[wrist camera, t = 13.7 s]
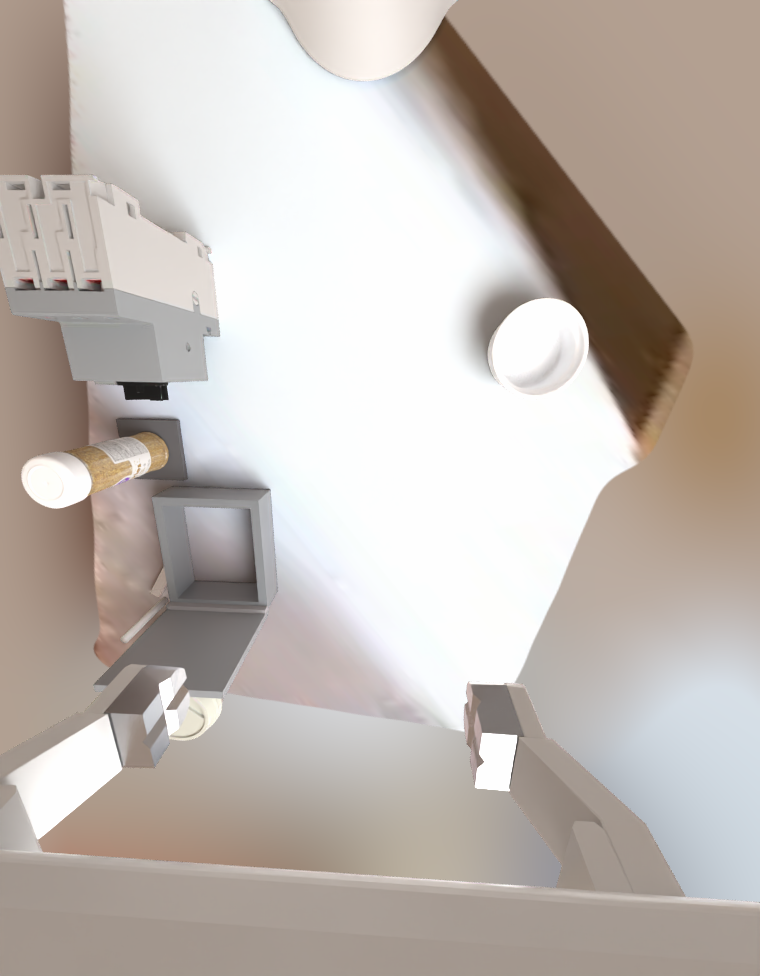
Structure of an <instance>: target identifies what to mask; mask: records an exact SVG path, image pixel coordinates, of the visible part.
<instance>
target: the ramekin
mask: <svg viewBox="0 0 760 976" xmlns="http://www.w3.org/2000/svg"><path fill="white" fill-rule="evenodd" d="M588 345H589V344H588V332H587V328H586V325H585V322H584V320H583V318H582V316H581V315H580V313H579V312H578V311H577V310H576V309H575V308H574V307H573V306H572V305H570V304H569V303H567V302H565V301H562V300H560V299H555V298H539V299H534V300H531V301H528V302H526V303H524V304H522V305H520V306H519V307H517V308H516V309H514V310H513V311H512V312H511V313H510V314H509V315H508V316H507V317H506V318H505V319H504V320H503V322H502V323H501V324H500V325H499V326H498V328H497V329H496V330H495V332H494V334H493V335H492V337H491V340H490V343H489V347H488V353H487V355H488V363H489V367H490V370H491V372H492V375H493V377H494V378H495V380H496V381H497V382H498V383H499V384H500V385H502V386H503V387H505V388H506V389H507V390H509V391H510V392H512V393H513V394H515V395H517V396H520V397H523V398H529V399H539V398H545V397H548V396H551V395H553V394H556V393H558V392H560V391H561V390H563V389H564V388H565V387H567V386H568V385H569V384H570V383H571V382H572V381H573V380H574V379H575V378H576V376H577V375H578V374H579V372H580V370H581V369H582V367H583V365H584V363H585V360H586V357H587V352H588Z"/></svg>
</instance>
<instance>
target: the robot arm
mask: <svg viewBox="0 0 760 976" xmlns="http://www.w3.org/2000/svg"><path fill="white" fill-rule="evenodd" d="M269 1H271V2H272V3H273V4H274V5H276V6H277V7H278V8H279V9H280V10H281V12H282V13H283V14H284V16H285V18H286V19H287V21H288V23H289V25H290V27H291V29H292V31H293V33H294V34H295V36H296V38H297V40H298V41H299V43H300V44H301V46H302V47H303V48H304V50H305V51H306V52H307V53H308V54H309V55H310V56H311V58H312V59H313V60H315V61H316V62H317V63H318V64H319V65H320V66H322V67H323V68H324V69H326V70H327V71H329V72H331V73H333V74H335V75H337V76H339V77H342V78H345V79H349V80H354V81H373V80H378V79H382V78H385V77H388V76H390V75H393V74H395V73H396V72H398V71H400V70H402V69H403V68H405V67H406V66H407V65H409V64H410V63H411V62H412V61H413V60H414V59H415V58H416V57H417V56H418V55H419V54H420V53H421V52H422V51H423V50H424V48H425V47H426V46H427V45H428V43H429V42H430V40H431V39H432V37H433V36H434V34H435V32H436V30H437V29H438V27H439V25H440V23H441V21H442V19H443V18H444V16H445V14H446V13H447V11H448V10H449V8H450V7H451V6H452V5H453V4H454V3H455V2H457V1H458V0H269ZM186 678H187V677H186V673H185V669H183V668H180V667H168V666H155V665H138V664H130V665H128V666H126V667H125V668H124V669H123V670H122V671H121V672H120V673H119V674H118V675H117V676H116V677H115V678H114V679H113V681H112V682H111V683H110V684H109V685H108V686H107V687H106V688H105V689H104V690H103V691H102V692H101V693H100V694H99V696H98V697H97V698H96V699H95V700H94V701H93V702H92V703H91V704H90V705H89V706H88V707H87V709H86V710H85V711H84V712H80V713H79V712H77V713H75V714H73V715H71V716H70V717H68V718H66V719H64V720H62V721H61V722H59V723H57V724H55V725H53V726H52V727H50V728H48V729H46V730H45V731H43V732H41V733H39V734H37V735H35V736H34V737H32V738H30V739H28V740H26V741H25V742H23V743H21V744H19V745H17V746H16V747H14V748H12V749H10V750H8V751H7V752H5V753H3V754H1V755H0V976H760V902H750V901H736V900H721V899H707V898H693V897H686V896H685V894H684V893H683V891H682V889H681V887H680V885H679V884H678V882H677V880H676V878H675V876H674V875H673V873H672V871H671V869H670V867H669V865H668V864H667V862H666V860H665V858H664V856H663V854H662V853H661V851H660V849H659V847H658V845H657V844H656V842H655V840H654V838H653V836H652V835H651V833H650V831H649V829H648V827H647V826H646V824H645V823H644V822H643V821H642V820H641V819H640V818H639V817H638V816H636V815H635V814H634V813H633V812H632V811H631V810H630V809H629V808H628V807H627V806H625V805H624V804H623V803H622V802H621V801H620V800H619V799H618V798H617V797H616V796H615V795H614V794H612V793H611V792H610V791H609V790H608V789H607V788H606V787H605V786H604V785H603V784H601V783H600V782H599V781H598V780H597V779H596V778H595V777H594V776H593V775H592V774H591V773H589V772H588V771H587V770H586V769H585V768H584V767H583V766H582V765H581V764H580V763H579V762H577V761H576V760H575V759H574V758H573V757H572V756H571V755H570V754H569V753H567V751H565V750H564V749H563V748H562V747H561V746H560V745H559V744H558V743H557V742H556V741H555V740H553V739H550V738H546V735H545V733H544V730H543V728H542V726H541V723H540V721H539V718H538V716H537V714H536V711H535V709H534V707H533V704H532V702H531V700H530V697H529V694H528V692H527V690H526V687H525V686H524V685H523V684H516V683H504V684H503V683H490V682H468V684H467V690H466V694H467V699H468V702H467V703H466V704H465V707H464V729H465V737H466V742H467V745H468V746H469V747H470V748H471V756H470V763H471V768H472V774H473V779H474V784H475V787H476V788H484V789H496V790H506V791H509V793H510V795H511V796H512V798H513V799H514V800H515V802H516V803H517V804H518V806H519V807H520V809H521V810H522V811H523V813H524V814H525V815H526V817H527V818H528V819H529V821H530V822H531V824H532V825H533V826H534V828H535V829H536V831H537V832H538V833H539V835H540V836H541V837H542V839H543V840H544V841H545V843H546V844H547V846H548V847H549V848H550V849H551V851H552V852H553V854H554V855H555V857H556V858H557V859H558V861H559V862H560V863H561V865H562V867H561V872H560V875H559V879H558V882H557V886H556V888H548V887H533V886H520V885H506V884H491V883H477V882H463V881H462V882H461V881H448V880H433V879H419V878H405V877H391V876H376V875H362V874H345V873H332V872H318V871H304V870H290V869H274V868H260V867H245V866H232V865H217V864H203V863H188V862H174V861H160V860H145V859H130V858H117V857H103V856H88V855H73V854H60V853H44V852H42V849H41V847H40V844H39V842H38V839H39V838H41V837H42V836H43V835H44V834H45V833H47V832H48V831H49V830H50V829H51V828H53V826H55V825H56V824H57V823H59V822H60V821H61V820H62V819H63V818H65V817H66V816H67V815H68V814H69V813H70V812H72V811H73V810H74V809H75V808H77V807H78V806H79V805H80V804H81V803H82V802H84V801H85V800H86V799H87V798H89V796H91V795H92V794H93V793H95V792H96V791H97V790H98V789H99V788H101V787H102V786H103V785H104V784H105V783H107V782H108V781H109V780H110V779H111V778H113V777H114V776H115V775H116V774H117V773H118V772H120V771H121V770H122V767H128V768H129V767H130V768H155V767H156V765H157V764H158V762H159V760H160V759H161V757H162V755H163V754H164V752H165V751H166V749H167V747H168V746H169V744H170V739H169V735H170V734H172V733H173V732H174V731H176V730H177V729H179V728H180V726H181V724H182V723H183V721H184V719H185V717H186V714H187V711H188V708H189V703H190V695H189V690H188V689H187V688H186V687H185V686H184V685H183V683H184V681H185V680H186Z"/></svg>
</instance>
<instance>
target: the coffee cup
mask: <svg viewBox="0 0 760 976" xmlns="http://www.w3.org/2000/svg"><path fill="white" fill-rule="evenodd" d="M222 701H223V699H217V698H199V697H190V703H189V708H188V711H187V714H186V717H185V719H184V721H183V723H182V724H181V726H180V728H179V729H177V730H176V731H174V732H173V733H172V734H170V735H169V739H173V740H181V741H182V740H191V739H194V738H197V737H199V736H200V735H202V734H203V733H204V732H205V731H206V730H207V729H208V728H209V727H210V726H212V725H213V724H214V722H215V721H216V720H217V718H218V717H219V715H220V713H221V709H222Z"/></svg>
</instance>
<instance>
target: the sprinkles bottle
mask: <svg viewBox="0 0 760 976" xmlns="http://www.w3.org/2000/svg"><path fill="white" fill-rule="evenodd" d="M168 452H169V451H168V448H167V446H166V444H165V442H164V441H163V440H162V439H161V438H160V437H159V436H157V435H156V434H153V433H150V432H142V433H138V434H136V435H134V436H130V437H122V438H118V439H113V440H109V441H104V442H100V443H96V444H91V445H87V446H83V447H81V448H77V449H73V450H69V451H65V452H51V453H47V454H43V455H39V456H35V457H33V458H31V459H29V460H28V461H27V462H26V463H25V464H24V466H23V468H22V472H21V479H22V483H23V486H24V488H25V490H26V492H27V493H28V494H29V495H30V497H31V498H33V499H34V500H35V501H36V502H38V503H39V504H42V505H43V506H46V507H50V508H63V507H66V506H69V505H72V504H75V503H77V502H79V501H82V500H83V499H85V498H86V497H87V496H88V495H91V494H93V493H96V492H98V491H101V490H104V489H106V488H109V487H113V486H115V485H118V484H120V483H123V482H125V481H128V480H131V479H133V478H136V477H139V476H141V475H143V474H145V473H148V472H150V471H155V470H159V469H161V468H162V467H164V466H165V464H166V463H167V461H168V457H169V453H168Z"/></svg>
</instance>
